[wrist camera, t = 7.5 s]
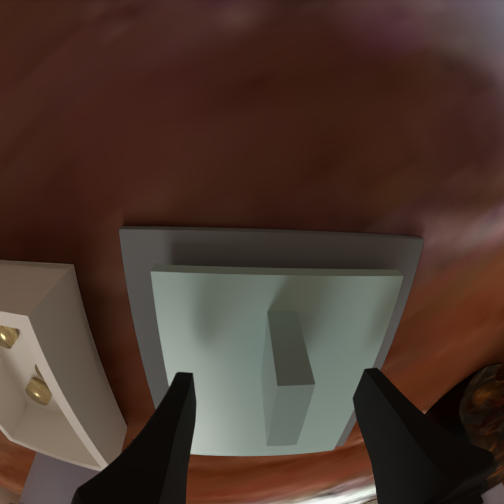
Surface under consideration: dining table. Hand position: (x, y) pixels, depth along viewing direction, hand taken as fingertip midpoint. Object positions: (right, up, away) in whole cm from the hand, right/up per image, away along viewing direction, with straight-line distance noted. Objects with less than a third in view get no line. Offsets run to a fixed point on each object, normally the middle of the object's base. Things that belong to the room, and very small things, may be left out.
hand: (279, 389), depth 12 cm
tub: (-15, -1, +4) cm, 16 cm away
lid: (0, -1, +4) cm, 4 cm away
